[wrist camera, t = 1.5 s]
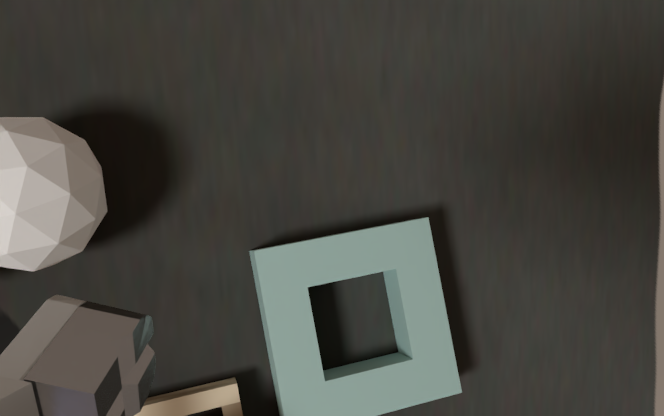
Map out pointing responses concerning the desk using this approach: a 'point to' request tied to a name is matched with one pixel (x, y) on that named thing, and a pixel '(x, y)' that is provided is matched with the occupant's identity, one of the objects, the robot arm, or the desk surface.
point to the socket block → (406, 310)
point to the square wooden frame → (196, 400)
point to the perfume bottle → (46, 193)
